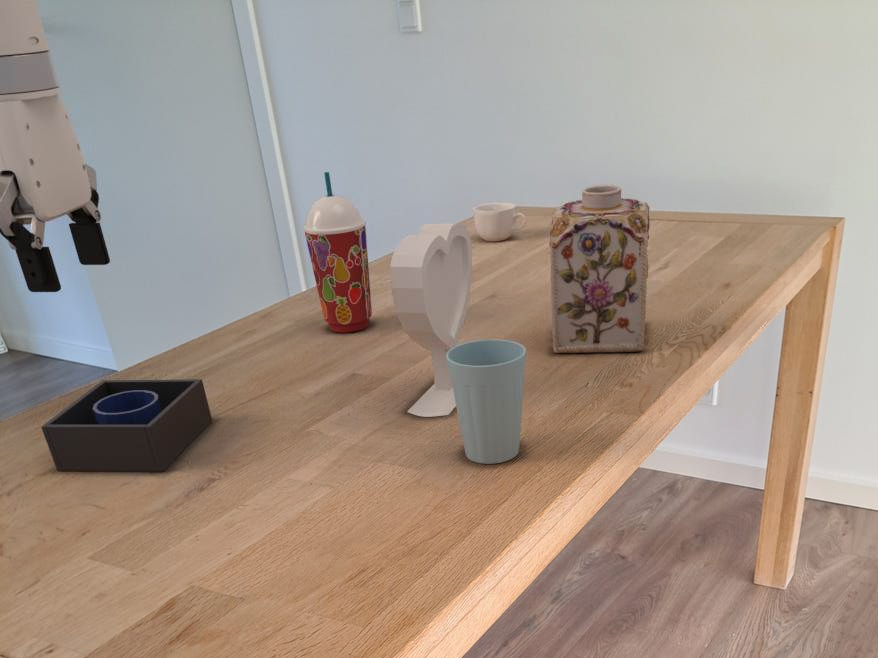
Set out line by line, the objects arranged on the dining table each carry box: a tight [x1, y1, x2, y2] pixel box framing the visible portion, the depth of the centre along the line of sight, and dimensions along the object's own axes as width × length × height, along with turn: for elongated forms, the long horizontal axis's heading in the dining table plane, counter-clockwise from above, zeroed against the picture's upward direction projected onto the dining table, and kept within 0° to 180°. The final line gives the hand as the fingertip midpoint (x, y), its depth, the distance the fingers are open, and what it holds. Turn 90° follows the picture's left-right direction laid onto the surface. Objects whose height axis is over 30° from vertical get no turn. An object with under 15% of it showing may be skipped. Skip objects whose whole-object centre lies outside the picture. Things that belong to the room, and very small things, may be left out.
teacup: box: [472, 202, 527, 242], centre depth 167 cm, size 10×8×5 cm
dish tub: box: [40, 378, 213, 473], centre depth 100 cm, size 12×13×5 cm
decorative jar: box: [548, 183, 651, 354], centre depth 115 cm, size 12×12×18 cm
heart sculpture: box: [389, 223, 473, 418], centre depth 102 cm, size 16×5×18 cm, turn 162°
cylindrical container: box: [93, 390, 163, 425], centre depth 100 cm, size 7×7×4 cm
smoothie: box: [302, 171, 373, 334], centre depth 126 cm, size 8×8×20 cm
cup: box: [446, 338, 527, 465], centre depth 91 cm, size 8×8×10 cm
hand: (71, 277), depth 92 cm, fingers open, 9 cm apart
